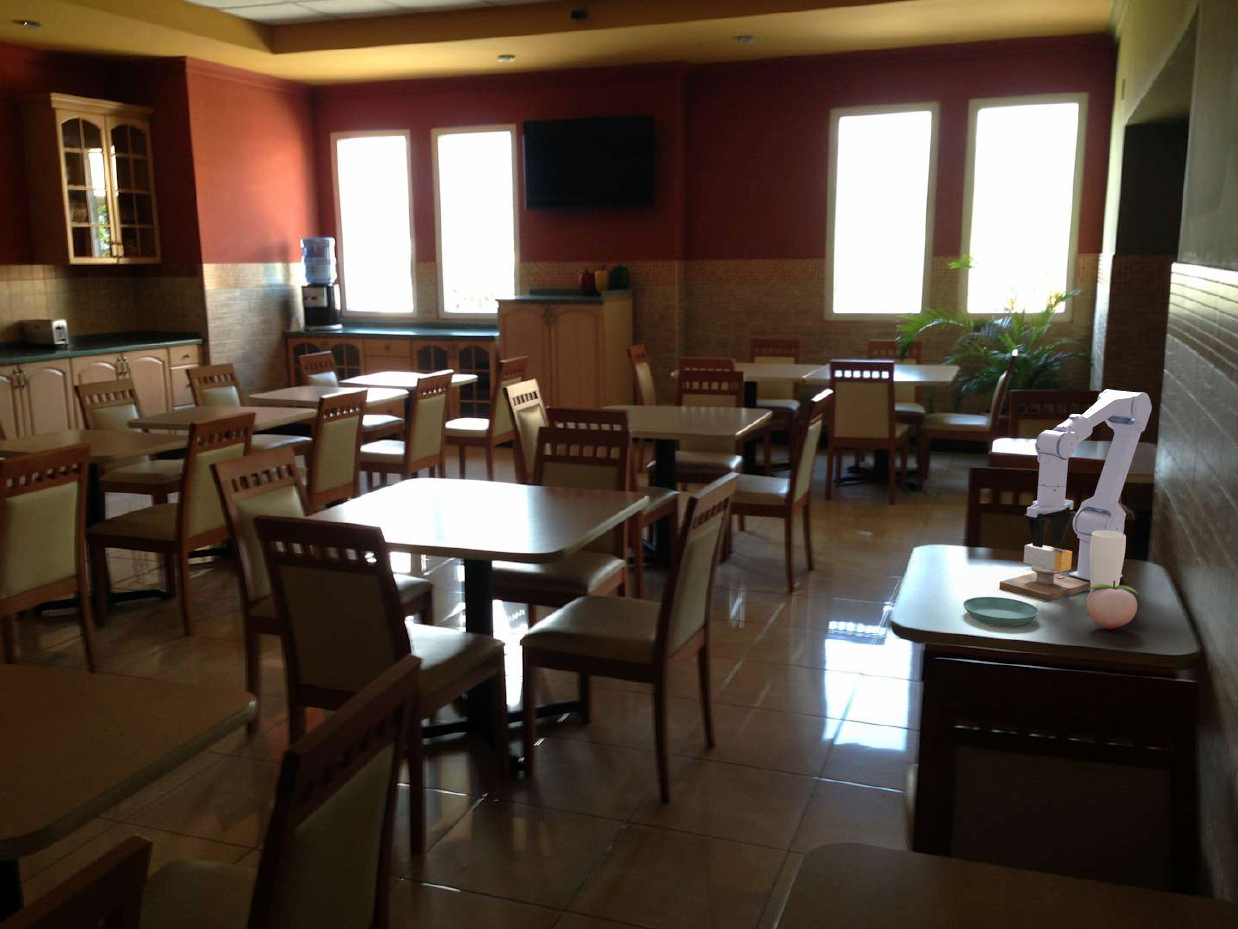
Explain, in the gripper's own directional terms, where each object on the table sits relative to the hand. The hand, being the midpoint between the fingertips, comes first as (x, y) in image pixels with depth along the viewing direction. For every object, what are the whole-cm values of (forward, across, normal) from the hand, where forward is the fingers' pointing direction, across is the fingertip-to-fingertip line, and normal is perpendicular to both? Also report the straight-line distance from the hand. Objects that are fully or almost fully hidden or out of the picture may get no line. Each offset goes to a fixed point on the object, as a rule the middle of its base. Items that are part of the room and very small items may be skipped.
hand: (1047, 544), depth 231 cm
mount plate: (+10, 0, 0) cm, 10 cm away
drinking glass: (+11, -2, +13) cm, 17 cm away
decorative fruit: (+10, +14, +24) cm, 30 cm away
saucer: (+11, +26, +7) cm, 29 cm away
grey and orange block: (+6, 0, 0) cm, 6 cm away
